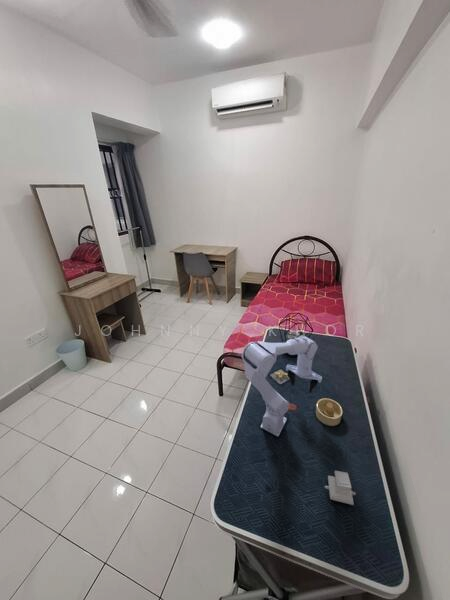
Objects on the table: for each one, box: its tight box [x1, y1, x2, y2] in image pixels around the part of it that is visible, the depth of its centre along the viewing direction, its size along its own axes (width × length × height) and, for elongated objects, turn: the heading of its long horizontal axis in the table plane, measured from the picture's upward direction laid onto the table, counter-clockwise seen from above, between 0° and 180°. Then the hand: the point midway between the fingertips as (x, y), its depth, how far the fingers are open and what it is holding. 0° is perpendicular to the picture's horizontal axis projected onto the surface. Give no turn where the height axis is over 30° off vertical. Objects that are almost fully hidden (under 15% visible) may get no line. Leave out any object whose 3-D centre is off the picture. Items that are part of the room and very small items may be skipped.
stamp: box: [324, 470, 357, 506], centre depth 75 cm, size 9×7×8 cm
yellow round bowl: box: [315, 397, 343, 427], centre depth 101 cm, size 10×10×4 cm
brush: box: [323, 403, 334, 418], centre depth 101 cm, size 4×4×6 cm
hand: (301, 387), depth 104 cm, fingers open, 7 cm apart
